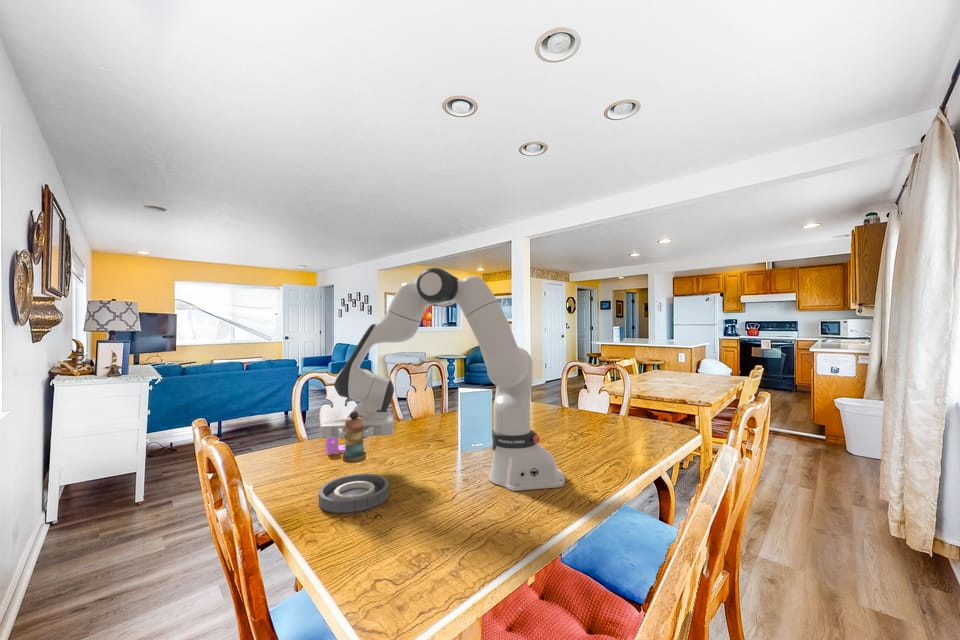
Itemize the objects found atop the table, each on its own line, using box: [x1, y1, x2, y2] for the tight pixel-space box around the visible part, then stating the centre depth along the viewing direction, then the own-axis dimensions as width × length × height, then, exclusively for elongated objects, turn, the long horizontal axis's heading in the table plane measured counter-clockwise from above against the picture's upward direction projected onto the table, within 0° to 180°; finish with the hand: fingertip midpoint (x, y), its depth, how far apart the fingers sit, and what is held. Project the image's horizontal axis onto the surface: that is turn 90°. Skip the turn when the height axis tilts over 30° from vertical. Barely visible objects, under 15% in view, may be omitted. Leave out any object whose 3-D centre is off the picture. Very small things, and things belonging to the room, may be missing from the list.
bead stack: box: [342, 410, 367, 464], centre depth 106 cm, size 6×6×13 cm
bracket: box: [324, 438, 345, 456], centre depth 146 cm, size 13×6×7 cm, turn 119°
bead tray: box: [318, 473, 390, 515], centre depth 106 cm, size 18×18×3 cm
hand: (353, 435), depth 105 cm, fingers closed on bead stack, 5 cm apart
